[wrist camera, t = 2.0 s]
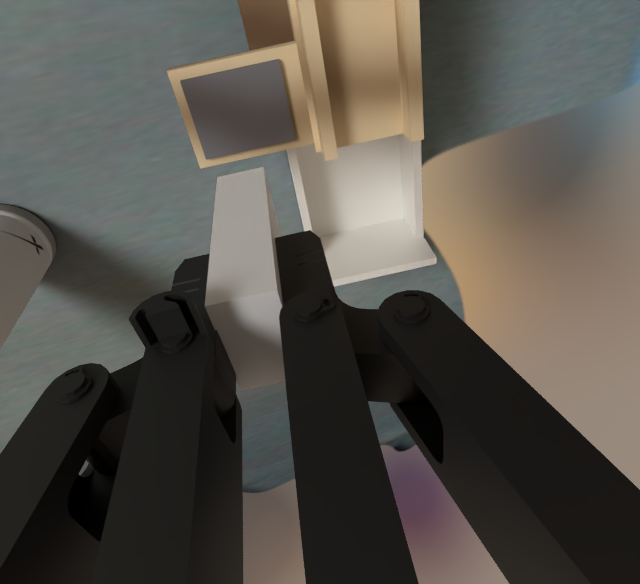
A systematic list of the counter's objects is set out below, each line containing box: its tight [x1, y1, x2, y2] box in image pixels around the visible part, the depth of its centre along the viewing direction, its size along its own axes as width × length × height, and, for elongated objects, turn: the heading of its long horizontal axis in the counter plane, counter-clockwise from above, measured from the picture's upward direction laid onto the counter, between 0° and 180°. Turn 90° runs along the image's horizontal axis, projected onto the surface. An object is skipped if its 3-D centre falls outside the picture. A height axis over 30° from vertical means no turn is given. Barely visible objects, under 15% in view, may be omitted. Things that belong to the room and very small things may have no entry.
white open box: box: [286, 134, 437, 286], centre depth 33 cm, size 10×9×7 cm
